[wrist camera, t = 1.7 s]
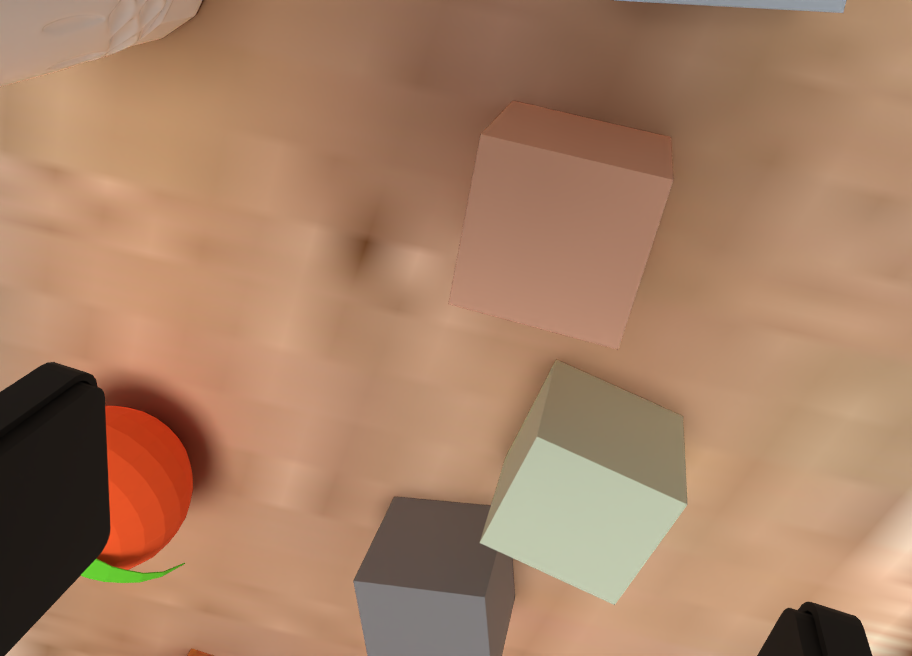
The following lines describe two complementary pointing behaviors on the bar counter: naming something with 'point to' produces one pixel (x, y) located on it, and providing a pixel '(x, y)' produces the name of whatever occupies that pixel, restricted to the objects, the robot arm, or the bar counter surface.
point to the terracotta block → (561, 221)
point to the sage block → (589, 483)
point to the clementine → (141, 494)
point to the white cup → (79, 31)
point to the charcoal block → (434, 583)
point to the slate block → (765, 4)
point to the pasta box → (197, 653)
